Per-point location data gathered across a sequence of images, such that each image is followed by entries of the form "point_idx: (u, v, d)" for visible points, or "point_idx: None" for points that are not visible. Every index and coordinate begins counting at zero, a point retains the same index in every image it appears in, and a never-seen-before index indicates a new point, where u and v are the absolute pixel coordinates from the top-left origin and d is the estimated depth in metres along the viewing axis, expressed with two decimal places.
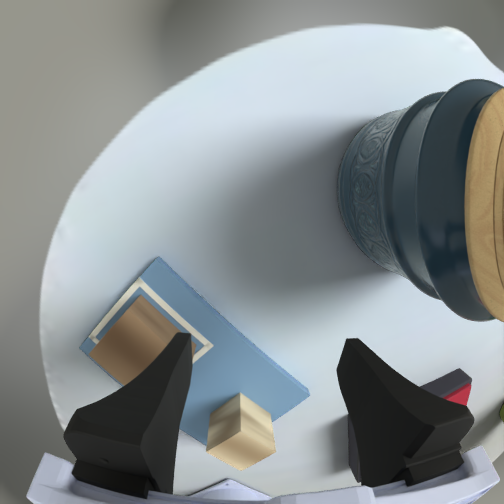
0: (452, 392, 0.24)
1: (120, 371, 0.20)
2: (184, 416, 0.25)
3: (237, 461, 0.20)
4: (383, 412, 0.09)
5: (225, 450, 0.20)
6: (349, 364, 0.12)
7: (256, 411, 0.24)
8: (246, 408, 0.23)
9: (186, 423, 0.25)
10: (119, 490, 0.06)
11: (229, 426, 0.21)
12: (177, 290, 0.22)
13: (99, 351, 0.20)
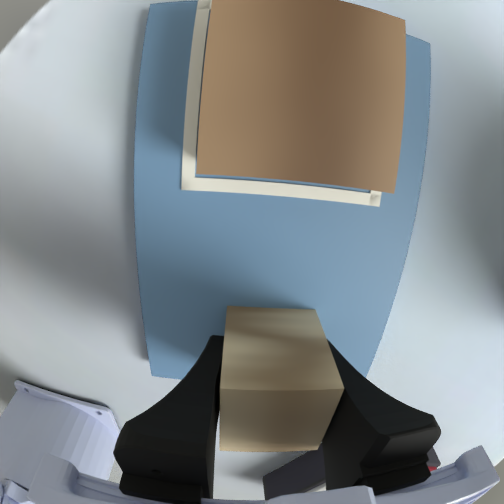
0: None
1: (242, 65, 0.07)
2: (178, 274, 0.13)
3: (242, 435, 0.10)
4: (344, 417, 0.09)
5: (260, 408, 0.09)
6: None
7: None
8: None
9: (164, 289, 0.13)
10: (172, 500, 0.06)
11: (298, 361, 0.10)
12: (419, 95, 0.10)
13: None
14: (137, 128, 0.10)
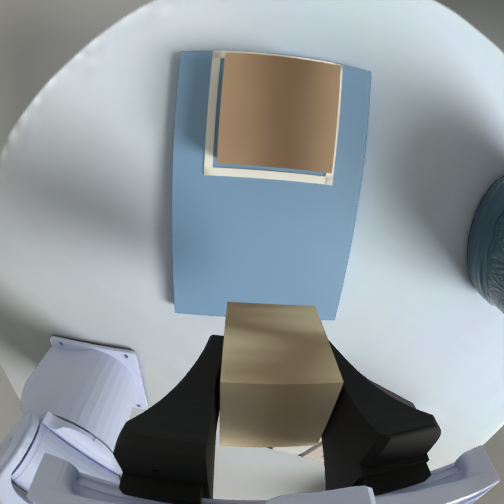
0: None
1: (241, 102, 0.14)
2: (199, 230, 0.19)
3: (242, 430, 0.10)
4: (344, 417, 0.09)
5: (260, 402, 0.09)
6: None
7: None
8: None
9: (189, 241, 0.19)
10: (172, 500, 0.06)
11: (298, 355, 0.10)
12: (360, 109, 0.17)
13: (246, 61, 0.13)
14: (175, 135, 0.17)
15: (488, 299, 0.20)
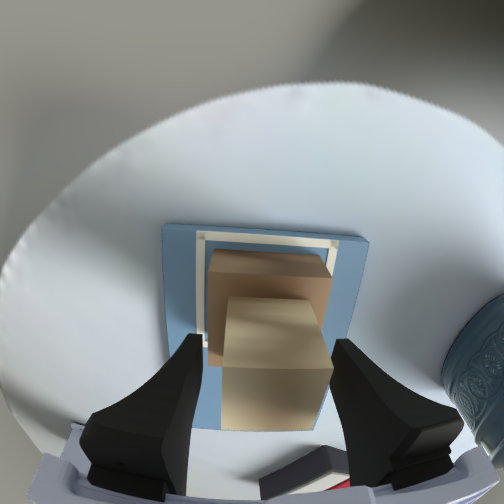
0: None
1: None
2: None
3: (242, 413, 0.11)
4: (371, 414, 0.09)
5: (258, 385, 0.10)
6: (339, 364, 0.12)
7: None
8: None
9: None
10: (136, 494, 0.06)
11: (293, 344, 0.11)
12: (351, 285, 0.18)
13: (231, 282, 0.14)
14: (167, 313, 0.18)
15: None
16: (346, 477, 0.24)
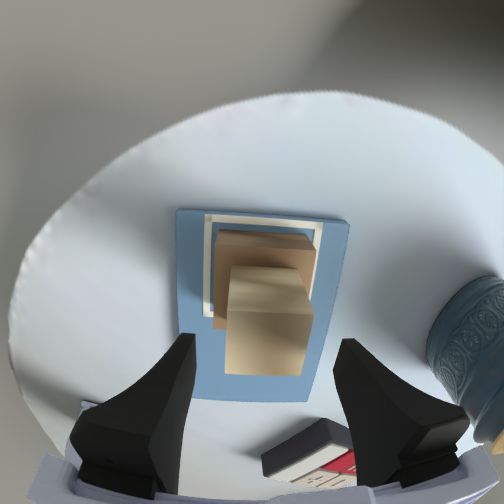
0: None
1: None
2: (202, 350, 0.24)
3: (242, 356, 0.14)
4: (378, 413, 0.09)
5: (255, 328, 0.14)
6: (345, 364, 0.12)
7: None
8: None
9: None
10: (126, 492, 0.06)
11: (282, 297, 0.15)
12: (335, 261, 0.21)
13: (234, 253, 0.18)
14: (178, 286, 0.22)
15: (441, 382, 0.25)
16: (344, 450, 0.27)
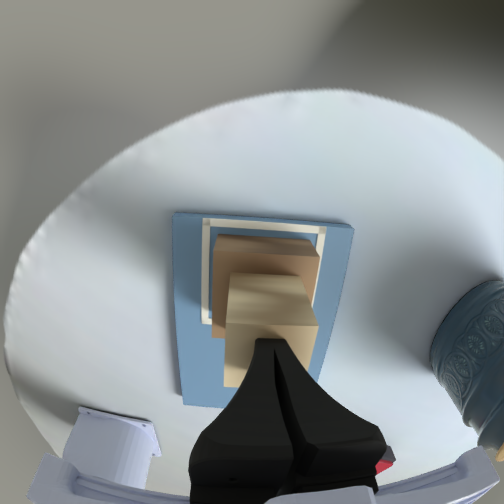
0: (384, 460, 0.29)
1: None
2: (200, 358, 0.23)
3: (242, 369, 0.13)
4: (287, 420, 0.09)
5: None
6: None
7: None
8: None
9: (192, 364, 0.23)
10: None
11: (284, 307, 0.14)
12: (339, 267, 0.20)
13: (233, 260, 0.17)
14: (175, 293, 0.21)
15: None
16: None
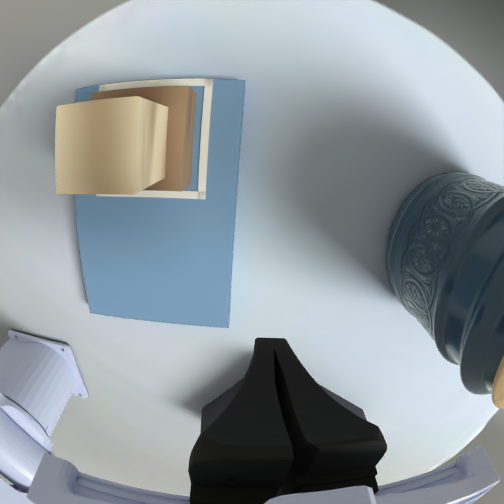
0: None
1: None
2: (98, 243, 0.20)
3: (70, 165, 0.11)
4: (287, 420, 0.09)
5: (79, 123, 0.10)
6: None
7: (160, 142, 0.14)
8: (159, 117, 0.13)
9: (92, 253, 0.21)
10: None
11: None
12: (232, 121, 0.18)
13: (106, 98, 0.14)
14: None
15: (413, 314, 0.21)
16: None
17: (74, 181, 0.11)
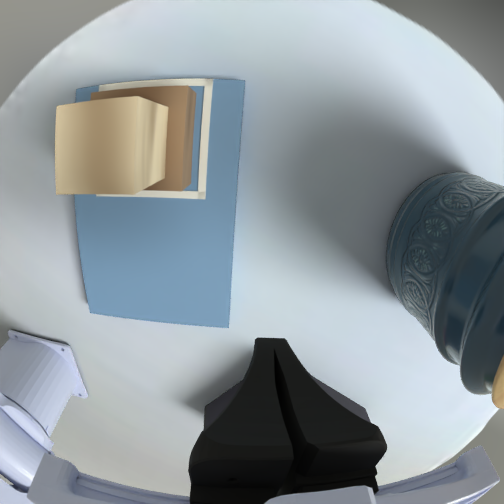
0: None
1: None
2: (98, 243, 0.20)
3: (70, 165, 0.11)
4: (287, 420, 0.09)
5: (79, 123, 0.10)
6: None
7: (160, 142, 0.14)
8: (159, 117, 0.13)
9: (92, 253, 0.21)
10: None
11: None
12: (232, 121, 0.18)
13: (106, 98, 0.14)
14: None
15: (413, 314, 0.21)
16: None
17: (74, 181, 0.11)
